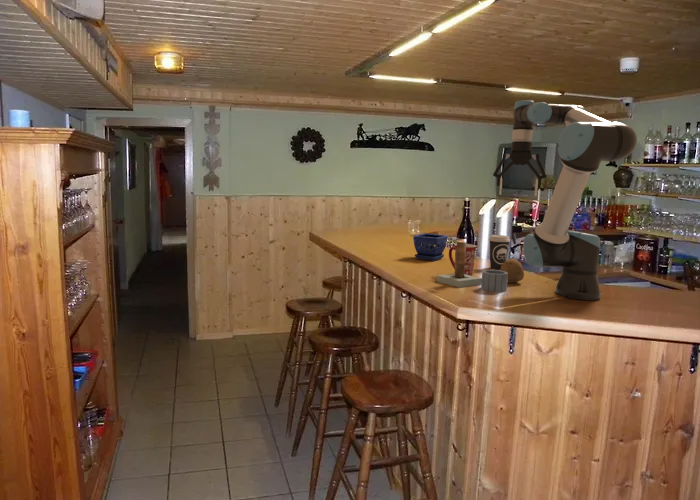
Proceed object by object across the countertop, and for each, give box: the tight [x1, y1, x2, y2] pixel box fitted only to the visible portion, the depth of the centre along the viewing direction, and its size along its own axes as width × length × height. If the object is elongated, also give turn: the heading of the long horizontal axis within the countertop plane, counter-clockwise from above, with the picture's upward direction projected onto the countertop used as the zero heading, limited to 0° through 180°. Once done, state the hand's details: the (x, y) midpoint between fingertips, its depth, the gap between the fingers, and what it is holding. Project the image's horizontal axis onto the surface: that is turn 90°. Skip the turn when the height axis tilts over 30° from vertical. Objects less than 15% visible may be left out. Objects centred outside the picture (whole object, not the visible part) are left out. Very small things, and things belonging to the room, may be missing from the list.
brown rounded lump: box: [500, 258, 525, 284], centre depth 216 cm, size 9×9×10 cm
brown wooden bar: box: [454, 241, 467, 279], centre depth 210 cm, size 4×4×16 cm
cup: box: [480, 269, 508, 293], centre depth 202 cm, size 9×9×7 cm
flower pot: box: [413, 232, 448, 262], centre depth 271 cm, size 13×13×12 cm
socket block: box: [436, 273, 482, 288], centre depth 211 cm, size 12×12×3 cm
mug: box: [448, 243, 478, 276], centre depth 227 cm, size 13×9×14 cm
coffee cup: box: [488, 234, 511, 271], centre depth 249 cm, size 10×10×15 cm
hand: (517, 195), depth 217 cm, fingers open, 13 cm apart
